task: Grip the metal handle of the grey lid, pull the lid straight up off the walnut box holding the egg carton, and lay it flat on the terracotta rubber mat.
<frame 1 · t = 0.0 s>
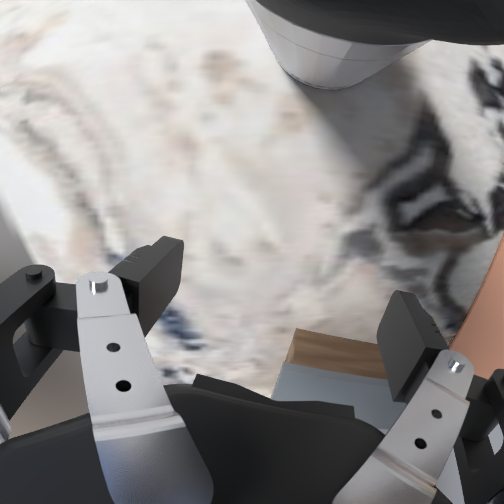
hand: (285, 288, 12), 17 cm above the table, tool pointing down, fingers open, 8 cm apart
lid: (350, 427, 30), point 6 cm above the table, touching box
box: (347, 388, 36), on the table
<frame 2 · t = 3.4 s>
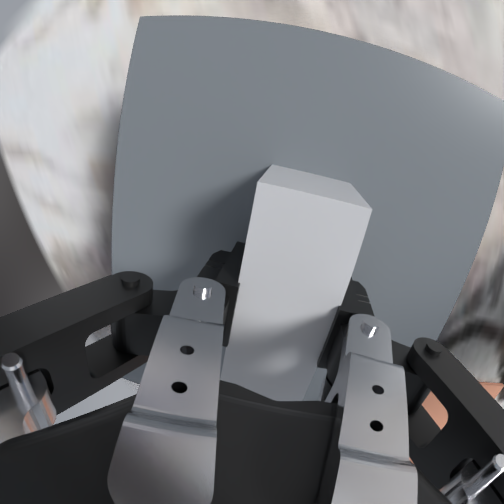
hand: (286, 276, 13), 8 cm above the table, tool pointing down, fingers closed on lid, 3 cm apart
lid: (289, 260, 14), point 6 cm above the table, touching box, gripper
mat: (372, 450, 27), on the table
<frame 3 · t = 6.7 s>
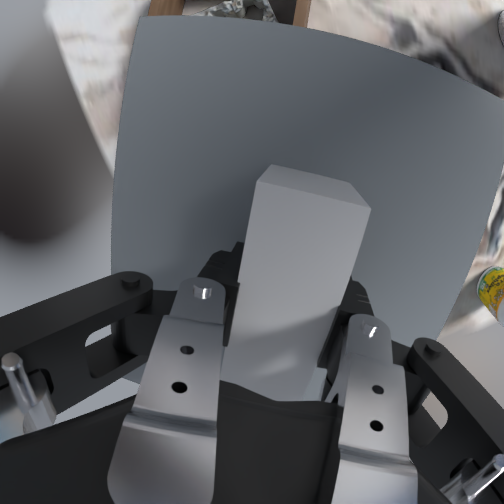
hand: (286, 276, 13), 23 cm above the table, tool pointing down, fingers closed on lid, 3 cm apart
lid: (288, 260, 14), point 22 cm above the table, touching gripper
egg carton: (232, 40, 30), resting in box
supplement bottle: (490, 282, 34), on the table
box: (233, 39, 29), on the table
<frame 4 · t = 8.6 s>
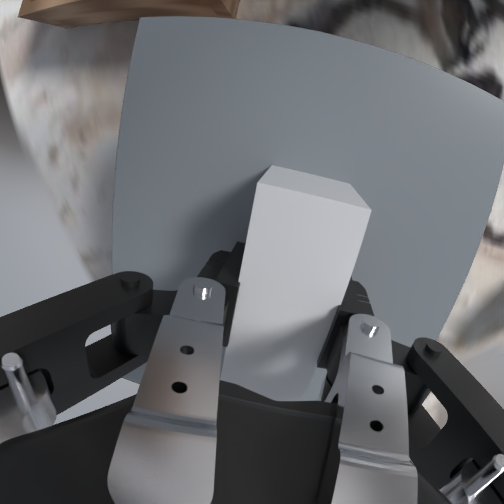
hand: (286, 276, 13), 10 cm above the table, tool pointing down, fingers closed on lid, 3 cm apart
lid: (289, 260, 14), point 9 cm above the table, touching gripper
when the fingers open (5 cm above the table, at t = 10.2 s): lid drops 1 cm, resting on mat.
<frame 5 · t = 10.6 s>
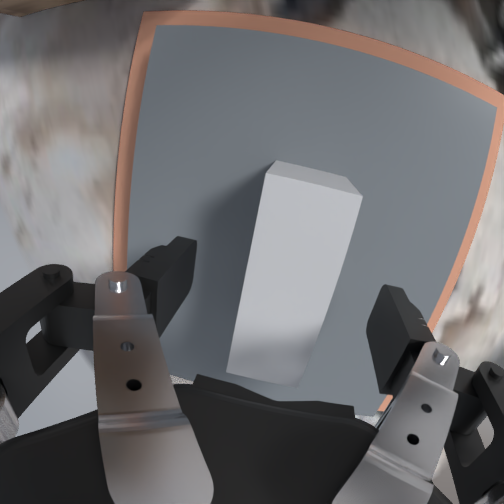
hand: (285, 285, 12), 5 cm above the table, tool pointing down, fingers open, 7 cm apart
lid: (291, 247, 16), point 1 cm above the table, touching mat
mat: (291, 237, 17), on the table
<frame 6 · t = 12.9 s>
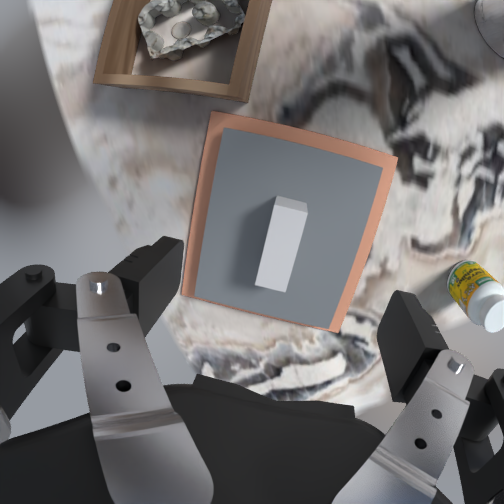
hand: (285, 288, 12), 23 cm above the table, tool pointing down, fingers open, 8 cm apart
lid: (282, 233, 34), point 1 cm above the table, touching mat
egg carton: (195, 23, 28), resting in box
supplement bottle: (462, 277, 35), on the table
box: (196, 22, 28), on the table
mat: (282, 229, 35), on the table
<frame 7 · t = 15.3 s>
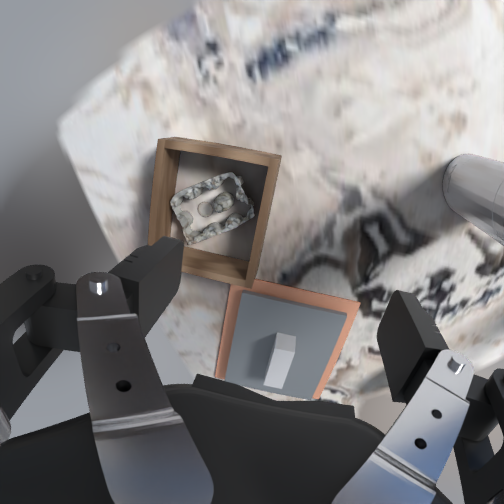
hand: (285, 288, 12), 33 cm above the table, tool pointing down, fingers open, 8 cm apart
lid: (281, 349, 51), point 1 cm above the table, touching mat
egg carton: (215, 202, 46), resting in box
box: (217, 204, 45), on the table
mat: (281, 344, 53), on the table
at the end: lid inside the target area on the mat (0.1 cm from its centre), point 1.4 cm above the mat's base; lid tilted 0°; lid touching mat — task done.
